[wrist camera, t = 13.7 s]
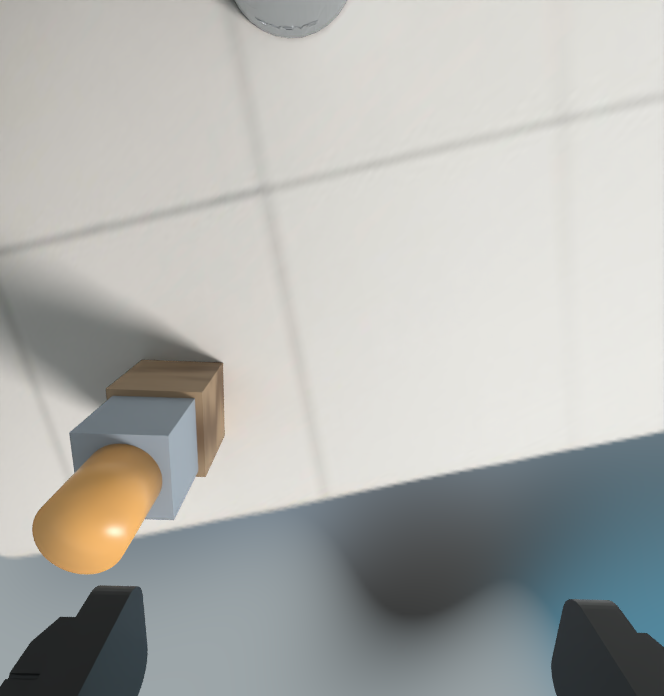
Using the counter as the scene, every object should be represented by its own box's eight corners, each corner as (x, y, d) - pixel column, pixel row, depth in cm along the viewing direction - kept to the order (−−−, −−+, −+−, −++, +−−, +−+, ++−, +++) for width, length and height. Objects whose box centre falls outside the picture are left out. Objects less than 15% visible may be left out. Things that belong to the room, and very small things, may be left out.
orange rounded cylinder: (80, 443, 29) (25, 495, 24) (159, 443, 29) (121, 496, 24) (90, 510, 30) (40, 573, 25) (165, 511, 30) (131, 574, 25)
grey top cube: (112, 395, 35) (69, 432, 29) (195, 398, 35) (168, 435, 29) (119, 468, 36) (80, 517, 30) (198, 470, 36) (173, 520, 31)
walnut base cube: (142, 359, 41) (105, 388, 34) (222, 362, 41) (202, 392, 35) (147, 432, 43) (114, 473, 36) (224, 435, 43) (205, 476, 36)
